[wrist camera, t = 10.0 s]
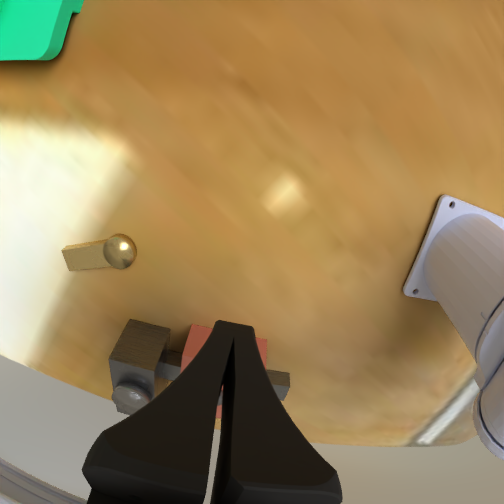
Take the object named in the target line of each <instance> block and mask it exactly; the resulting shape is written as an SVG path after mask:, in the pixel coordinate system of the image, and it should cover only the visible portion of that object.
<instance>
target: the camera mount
mask: <svg viewBox="0 0 504 504" xmlns="http://www.w3.org/2000/svg"><path fill="white" fill-rule="evenodd" d="M83 2H84V0H0V61H1V60H51V59H53V58H55V57H56V56H57V55H58V54H59V52H60V51H61V49H62V46H63V42H64V38H65V35H66V31H67V28H68V25H69V21H70V18H71V15H72V13H80V10H81V7H82V5H83Z"/></svg>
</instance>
